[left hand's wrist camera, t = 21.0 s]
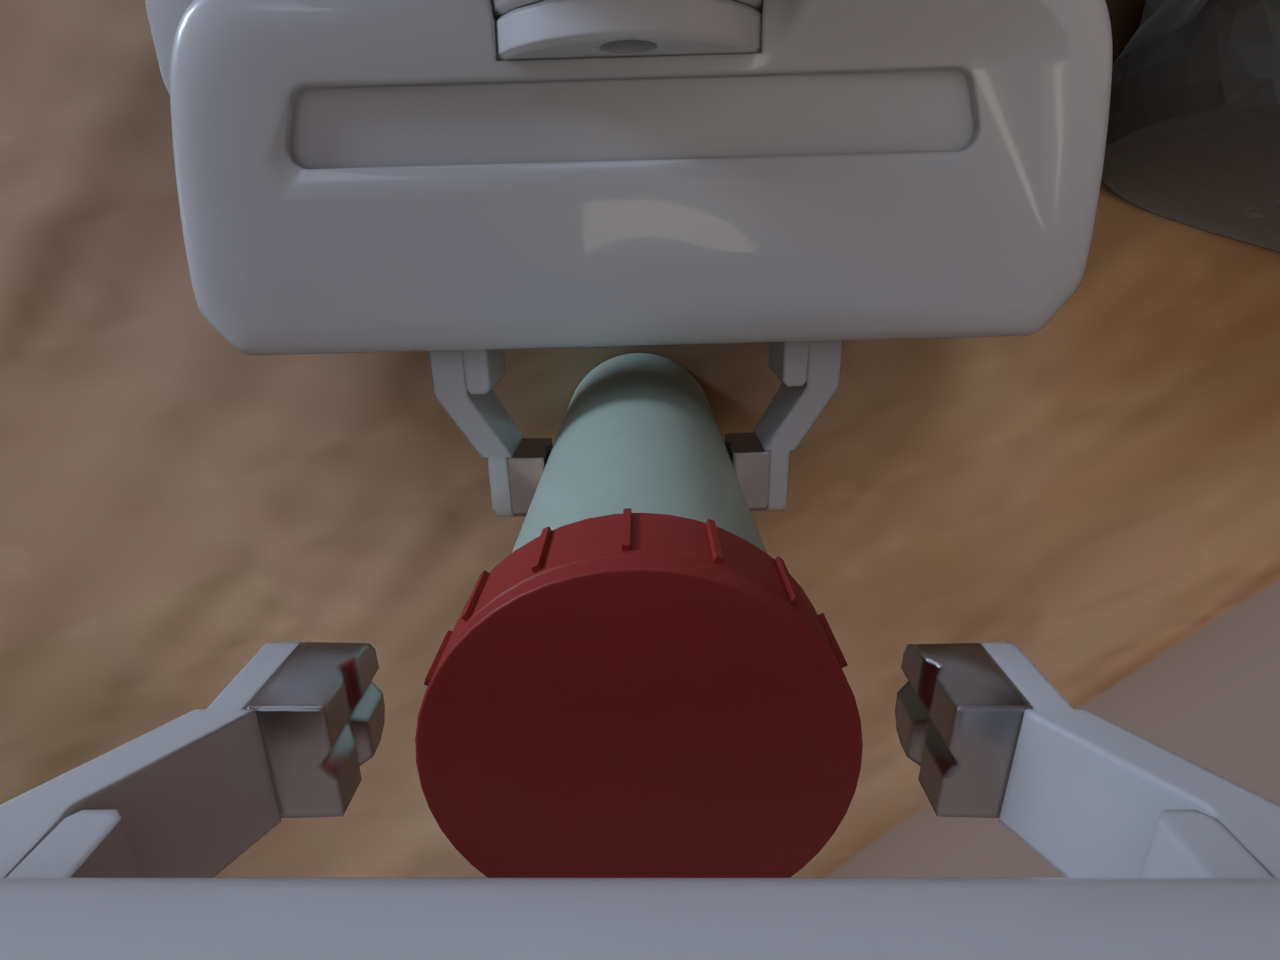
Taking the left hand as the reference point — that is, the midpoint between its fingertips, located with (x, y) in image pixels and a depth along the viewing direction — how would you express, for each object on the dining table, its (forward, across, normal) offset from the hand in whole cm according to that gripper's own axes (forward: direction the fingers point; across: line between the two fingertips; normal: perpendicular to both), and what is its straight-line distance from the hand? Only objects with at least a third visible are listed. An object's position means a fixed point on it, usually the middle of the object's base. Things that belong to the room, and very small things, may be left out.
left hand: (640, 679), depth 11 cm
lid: (-2, 0, 0) cm, 2 cm away
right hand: (+9, 0, -1) cm, 9 cm away
